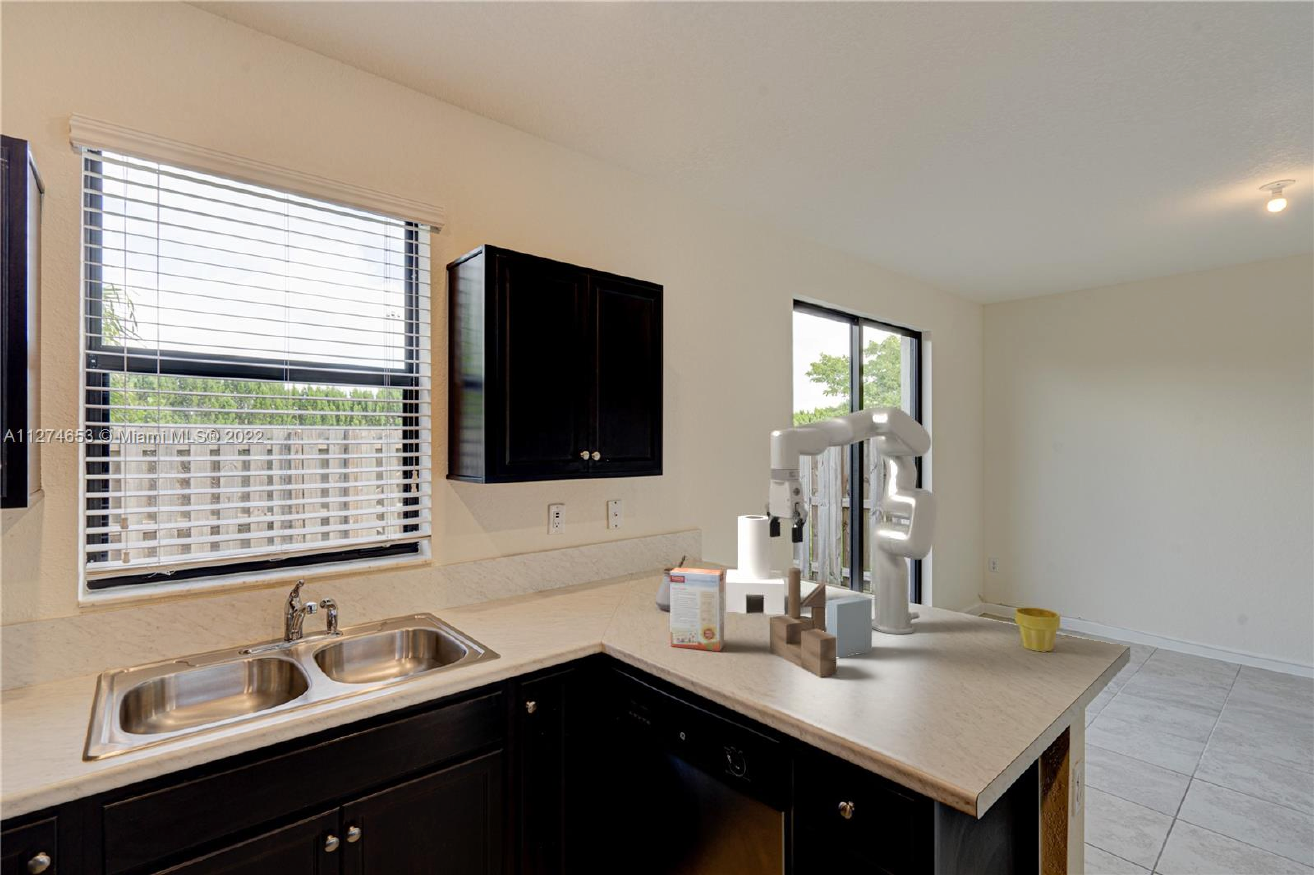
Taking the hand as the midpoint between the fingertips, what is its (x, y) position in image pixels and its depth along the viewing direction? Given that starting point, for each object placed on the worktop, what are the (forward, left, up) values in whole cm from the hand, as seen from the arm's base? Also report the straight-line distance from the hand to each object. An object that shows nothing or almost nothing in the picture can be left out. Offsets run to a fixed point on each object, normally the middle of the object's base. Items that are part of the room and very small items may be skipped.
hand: (785, 539), depth 164 cm
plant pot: (-63, +28, -30) cm, 75 cm away
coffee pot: (+5, -53, -30) cm, 61 cm away
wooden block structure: (-17, -12, -30) cm, 37 cm away
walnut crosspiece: (+1, +8, -30) cm, 31 cm away
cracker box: (+19, -14, -30) cm, 39 cm away
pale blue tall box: (-15, +8, -30) cm, 34 cm away
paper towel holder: (-18, -40, -30) cm, 53 cm away
